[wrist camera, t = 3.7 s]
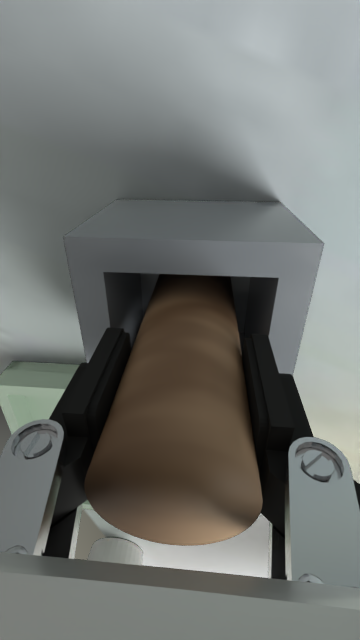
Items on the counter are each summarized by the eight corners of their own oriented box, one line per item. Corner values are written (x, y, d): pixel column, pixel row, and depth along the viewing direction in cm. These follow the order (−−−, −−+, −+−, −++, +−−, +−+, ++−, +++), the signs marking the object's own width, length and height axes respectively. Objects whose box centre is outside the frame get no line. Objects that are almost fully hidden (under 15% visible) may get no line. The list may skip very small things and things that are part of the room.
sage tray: (207, 371, 22) (206, 397, 20) (200, 490, 29) (199, 519, 27) (12, 361, 23) (-8, 384, 21) (52, 478, 30) (40, 505, 28)
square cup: (280, 202, 16) (324, 243, 10) (259, 340, 20) (280, 428, 14) (116, 199, 16) (63, 236, 10) (129, 334, 21) (96, 415, 15)
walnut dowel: (234, 249, 16) (276, 448, 6) (228, 316, 18) (251, 552, 8) (157, 247, 17) (69, 434, 6) (159, 314, 19) (96, 537, 8)
